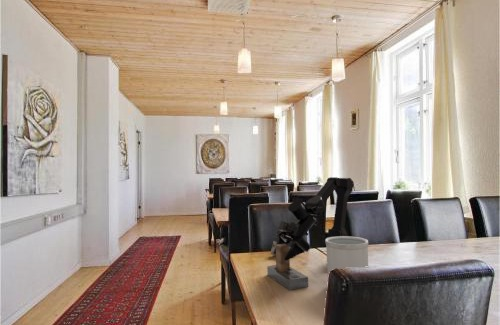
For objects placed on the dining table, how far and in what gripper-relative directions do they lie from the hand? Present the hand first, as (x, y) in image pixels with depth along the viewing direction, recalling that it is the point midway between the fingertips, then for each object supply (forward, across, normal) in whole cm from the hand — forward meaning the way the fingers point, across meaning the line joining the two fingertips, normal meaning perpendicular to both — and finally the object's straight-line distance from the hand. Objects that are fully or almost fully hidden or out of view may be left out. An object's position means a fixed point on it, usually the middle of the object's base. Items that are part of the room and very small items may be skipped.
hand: (279, 256), depth 121 cm
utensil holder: (-6, +20, +18) cm, 27 cm away
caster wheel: (-6, -29, +19) cm, 35 cm away
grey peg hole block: (+5, +3, +7) cm, 9 cm away
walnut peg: (+5, 0, +7) cm, 9 cm away
